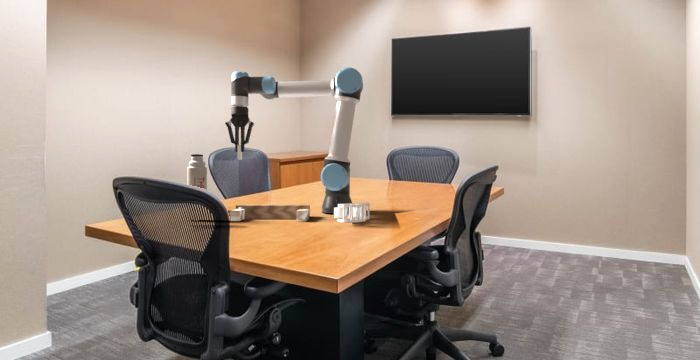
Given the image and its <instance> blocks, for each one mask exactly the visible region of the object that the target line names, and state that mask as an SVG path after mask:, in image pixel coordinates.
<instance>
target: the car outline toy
mask: <svg viewBox="0 0 700 360" xmlns="http://www.w3.org/2000/svg"><path fill="white" fill-rule="evenodd" d="M370 206H371V202H357V203H356V202H354V203H353V202H352V203H348V204H338V207H337V208H334V213H333V217H334V218H335V219H337V222H338V223H350V224H351V223H362V222H366V221H368V220H370V219H371V216H370ZM345 207H349V213H347V208H345Z"/></svg>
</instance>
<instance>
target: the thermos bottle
mask: <svg viewBox="0 0 700 360" xmlns="http://www.w3.org/2000/svg"><path fill="white" fill-rule="evenodd" d="M190 156H191V158H190V159H191V160H190V161H189V162H188V166H187V168H186V169H187V170H186V174H187V177H186V180H187V181H186V182H187V183H186V185H192V186H197V187H200V188H204V189H206V190H207V191H208V179H207V178H208V168H207V167H206V162H205V161H204V154H201V153H196V154H195V153H194V154H193V153H192V154H190Z"/></svg>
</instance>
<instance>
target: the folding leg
mask: <svg viewBox="0 0 700 360" xmlns="http://www.w3.org/2000/svg"><path fill="white" fill-rule="evenodd" d="M230 210H231V211H230V222H240V221H243V220H246V219H245V209H244V207H239V209H236V208H235V209H230Z"/></svg>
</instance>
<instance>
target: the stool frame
mask: <svg viewBox="0 0 700 360" xmlns="http://www.w3.org/2000/svg"><path fill="white" fill-rule="evenodd" d="M239 207H244V209H245V219H244V220H296V223H297V222H298V223H300V222H301V223H302V222H303V223H305V222H307V221H308V220H309V219H310V217H311V216H310V215H311V213H310V212H311V205H310V204H236V205H235V209H239ZM227 210H228V213H229V216H230V211H231V210H232V209H227Z"/></svg>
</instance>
